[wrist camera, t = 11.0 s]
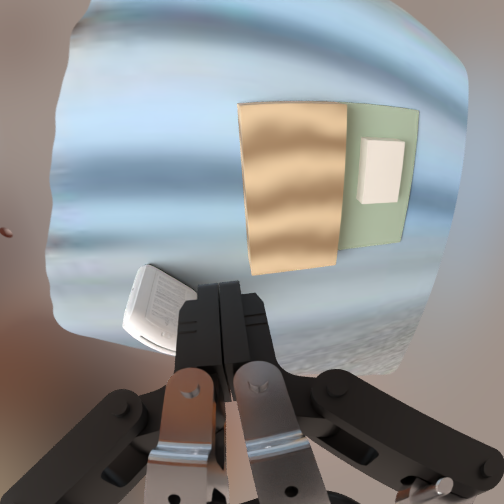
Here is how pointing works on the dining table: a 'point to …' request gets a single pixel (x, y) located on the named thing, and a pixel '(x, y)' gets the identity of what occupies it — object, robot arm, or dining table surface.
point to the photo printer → (156, 308)
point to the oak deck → (292, 182)
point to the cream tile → (379, 170)
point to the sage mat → (353, 212)
